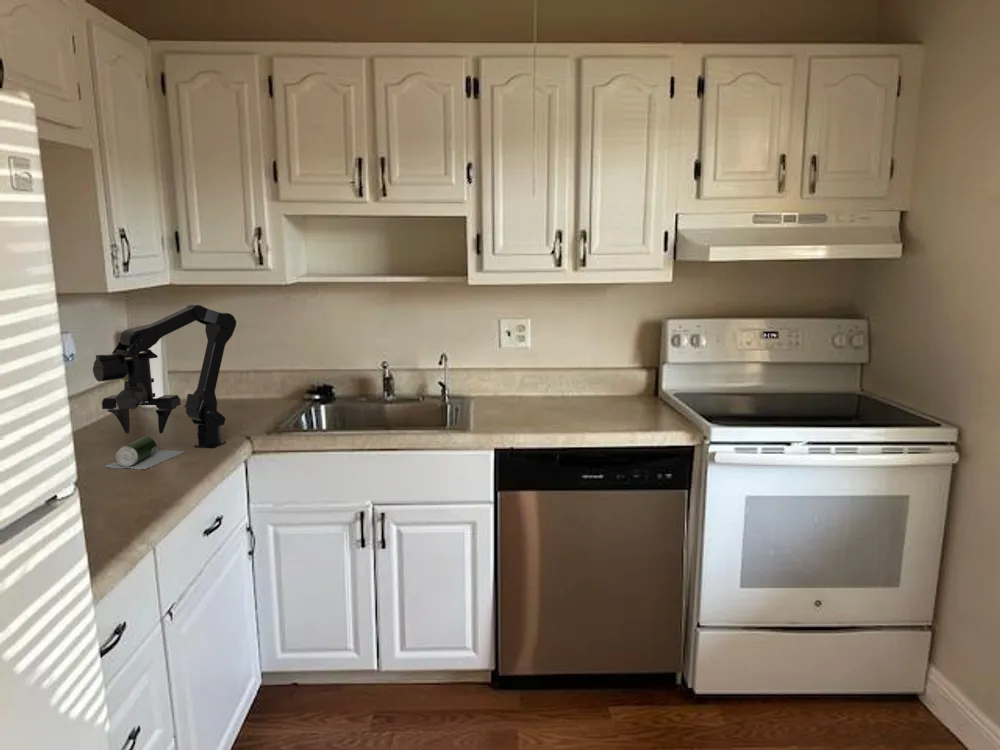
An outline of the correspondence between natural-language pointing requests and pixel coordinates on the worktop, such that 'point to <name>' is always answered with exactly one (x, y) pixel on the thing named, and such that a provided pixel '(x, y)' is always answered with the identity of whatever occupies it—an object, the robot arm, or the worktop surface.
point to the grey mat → (149, 460)
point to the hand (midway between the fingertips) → (144, 433)
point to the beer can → (136, 451)
